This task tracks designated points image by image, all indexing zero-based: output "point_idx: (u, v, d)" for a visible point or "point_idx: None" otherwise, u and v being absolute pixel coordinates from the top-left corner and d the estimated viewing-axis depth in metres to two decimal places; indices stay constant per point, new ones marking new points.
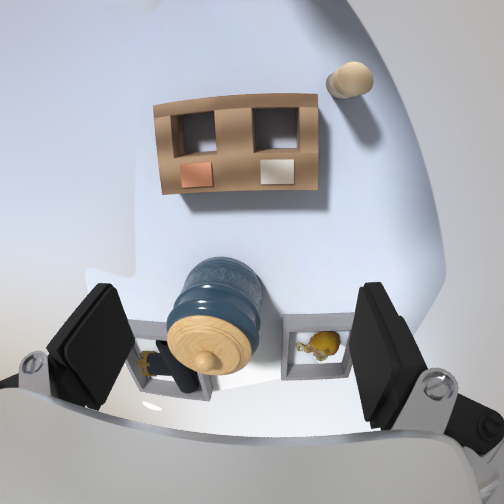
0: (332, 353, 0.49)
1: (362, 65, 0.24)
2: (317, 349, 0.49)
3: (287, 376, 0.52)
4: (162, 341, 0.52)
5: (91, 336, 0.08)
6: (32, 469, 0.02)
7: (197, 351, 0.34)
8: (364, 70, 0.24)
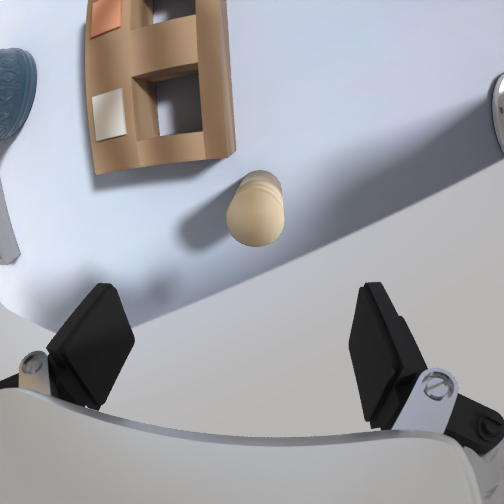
0: None
1: (279, 230, 0.19)
2: None
3: None
4: None
5: (91, 336, 0.08)
6: (32, 469, 0.02)
7: None
8: (270, 233, 0.19)
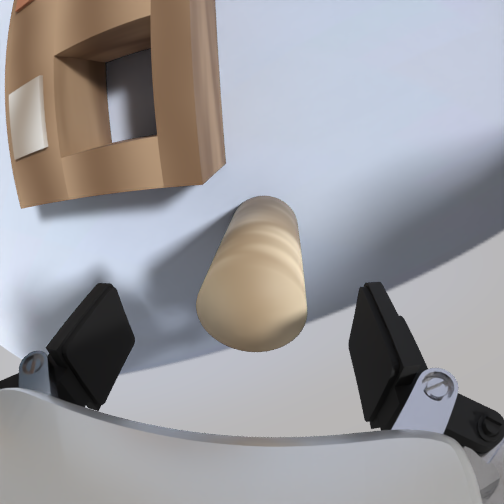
0: None
1: (296, 330, 0.10)
2: None
3: None
4: None
5: (91, 336, 0.08)
6: (32, 469, 0.02)
7: None
8: (280, 334, 0.10)
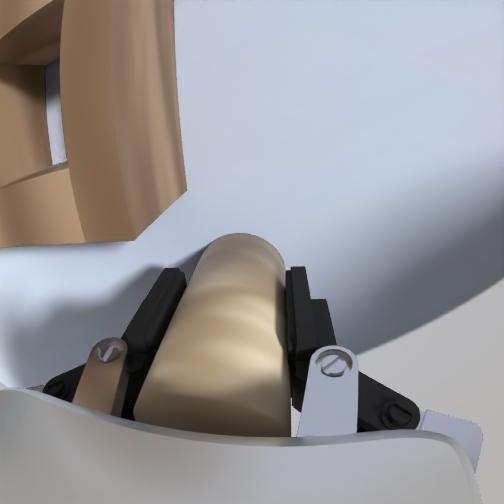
0: None
1: None
2: None
3: None
4: None
5: (168, 319, 0.09)
6: (32, 469, 0.02)
7: None
8: None
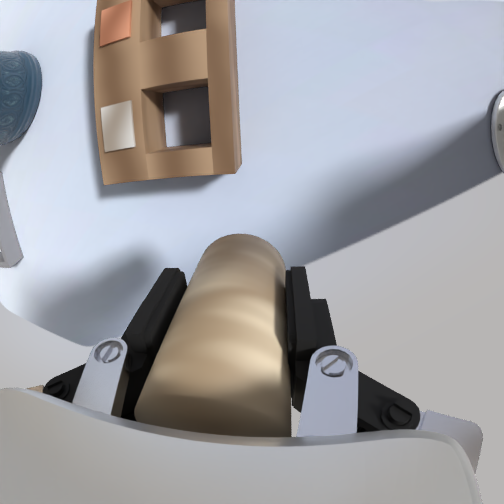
0: None
1: None
2: None
3: None
4: None
5: (168, 319, 0.09)
6: (32, 469, 0.02)
7: None
8: None
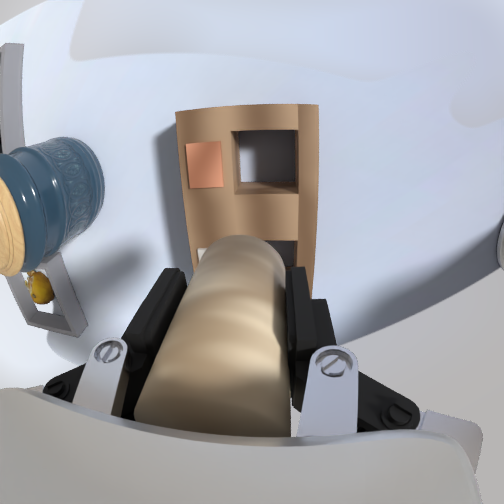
0: (34, 301, 0.36)
1: None
2: (31, 285, 0.35)
3: None
4: None
5: (168, 319, 0.09)
6: (32, 469, 0.02)
7: None
8: None
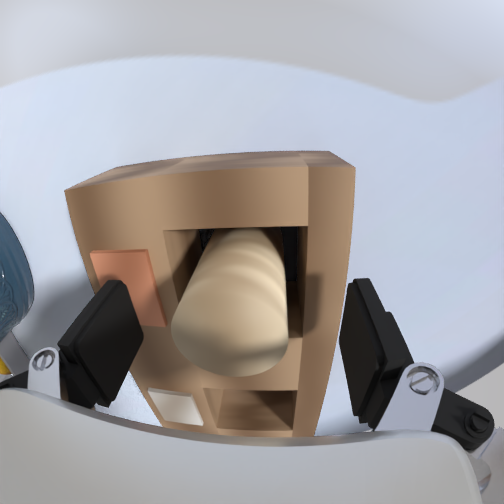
0: None
1: (277, 356, 0.09)
2: None
3: None
4: None
5: (102, 332, 0.08)
6: (32, 469, 0.02)
7: None
8: (260, 360, 0.09)
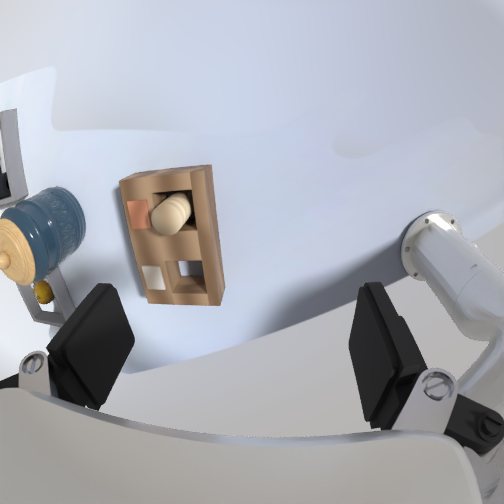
0: (39, 302, 0.49)
1: (179, 225, 0.33)
2: (36, 289, 0.48)
3: None
4: None
5: (91, 336, 0.08)
6: (32, 469, 0.02)
7: (6, 250, 0.28)
8: (175, 227, 0.33)
